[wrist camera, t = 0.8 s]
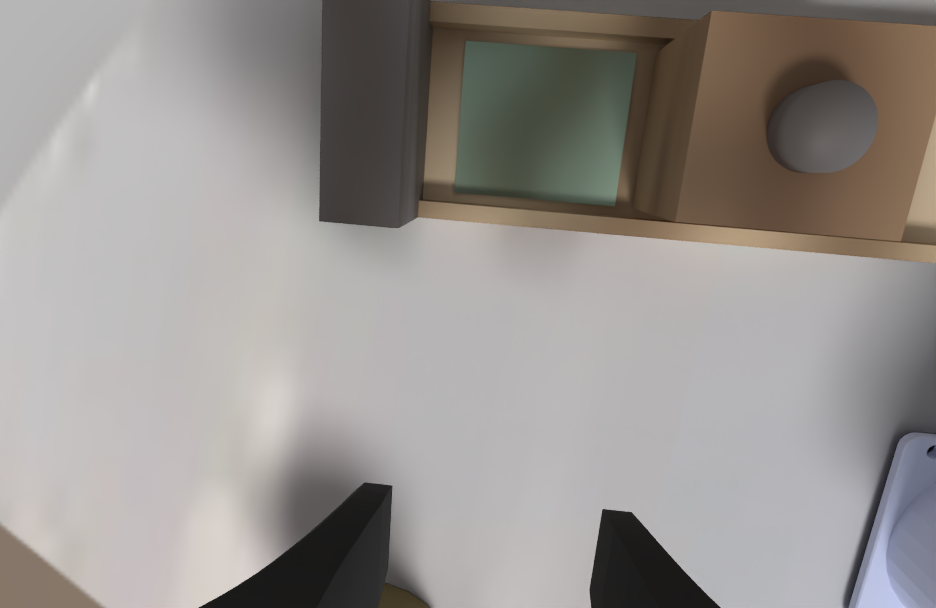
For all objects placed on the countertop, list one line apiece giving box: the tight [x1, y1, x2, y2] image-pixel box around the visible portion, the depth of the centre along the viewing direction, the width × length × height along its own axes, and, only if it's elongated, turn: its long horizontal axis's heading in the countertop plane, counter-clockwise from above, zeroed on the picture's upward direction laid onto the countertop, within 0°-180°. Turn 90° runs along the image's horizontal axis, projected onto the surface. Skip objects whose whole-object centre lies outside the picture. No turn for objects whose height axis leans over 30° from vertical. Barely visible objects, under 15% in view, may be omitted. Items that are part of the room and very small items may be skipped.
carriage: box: [633, 10, 936, 241], centre depth 14 cm, size 5×4×5 cm
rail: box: [319, 0, 936, 263], centre depth 15 cm, size 18×6×5 cm, turn 85°
